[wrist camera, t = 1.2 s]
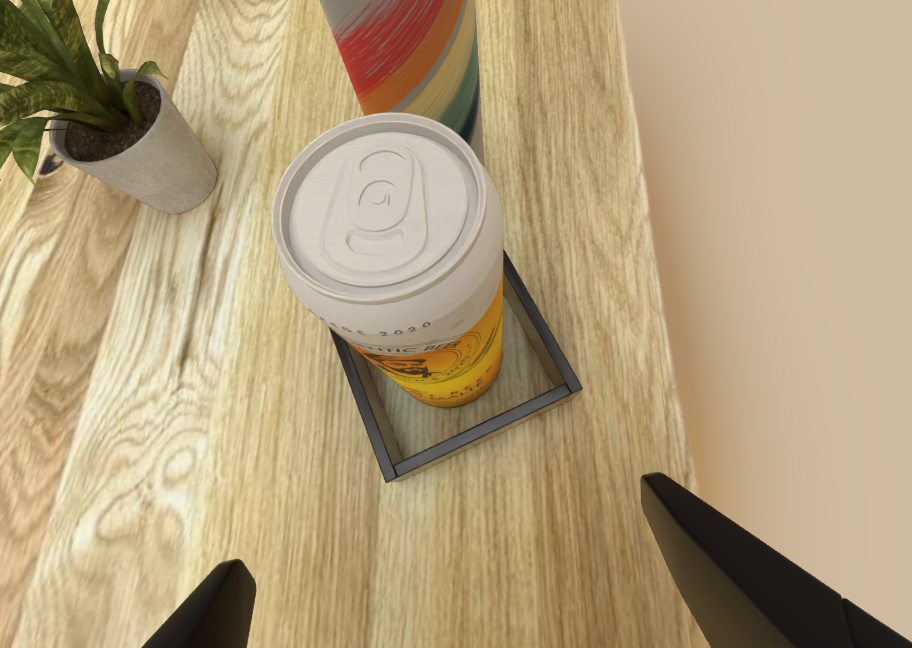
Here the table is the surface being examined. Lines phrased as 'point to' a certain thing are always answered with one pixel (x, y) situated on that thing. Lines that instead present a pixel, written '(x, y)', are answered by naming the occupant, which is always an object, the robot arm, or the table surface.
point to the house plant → (95, 110)
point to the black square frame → (402, 469)
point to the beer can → (399, 251)
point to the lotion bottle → (413, 59)
